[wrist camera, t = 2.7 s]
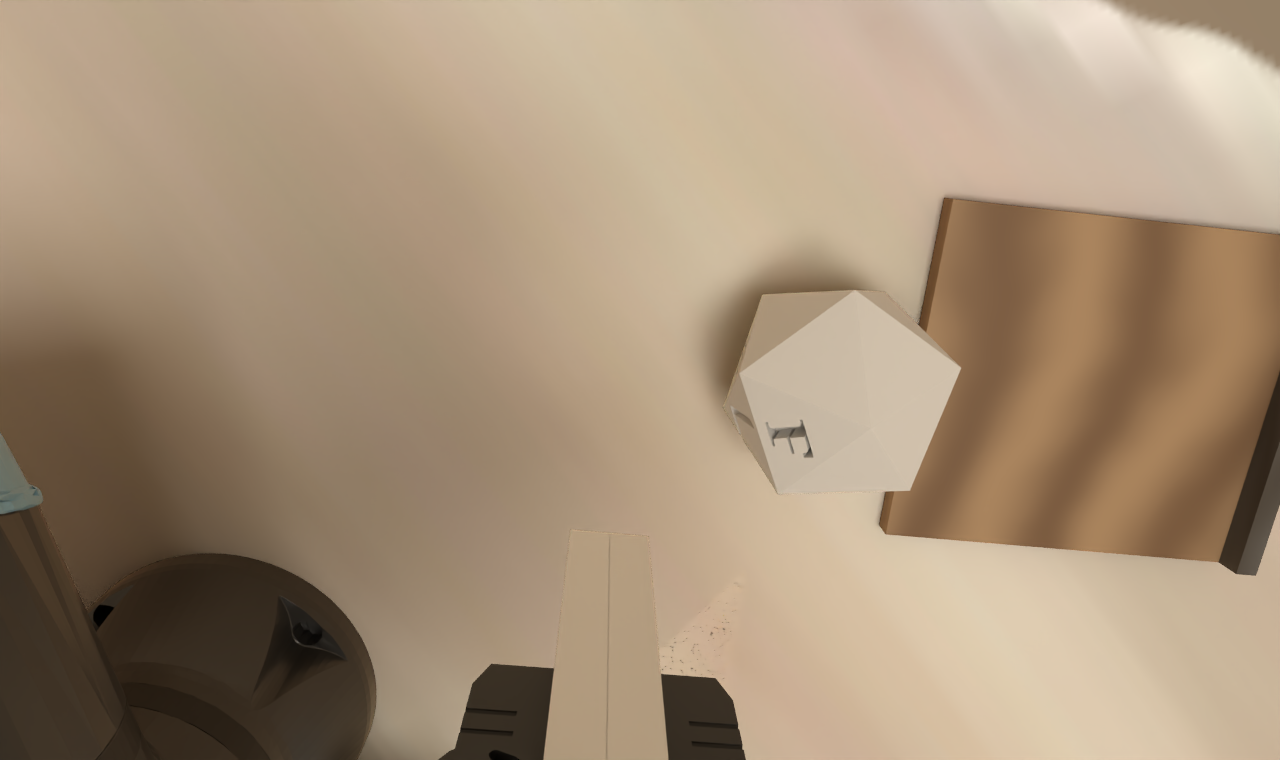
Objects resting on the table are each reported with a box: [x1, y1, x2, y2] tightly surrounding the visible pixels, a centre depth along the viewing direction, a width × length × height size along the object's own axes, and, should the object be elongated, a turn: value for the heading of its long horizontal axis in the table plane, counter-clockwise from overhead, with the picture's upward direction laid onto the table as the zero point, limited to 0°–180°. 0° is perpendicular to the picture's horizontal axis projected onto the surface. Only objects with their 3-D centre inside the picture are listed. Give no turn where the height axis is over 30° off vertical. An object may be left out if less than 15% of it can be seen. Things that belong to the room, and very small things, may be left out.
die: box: [723, 290, 961, 495], centre depth 34 cm, size 8×9×10 cm
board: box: [879, 198, 1280, 576], centre depth 38 cm, size 18×16×2 cm
